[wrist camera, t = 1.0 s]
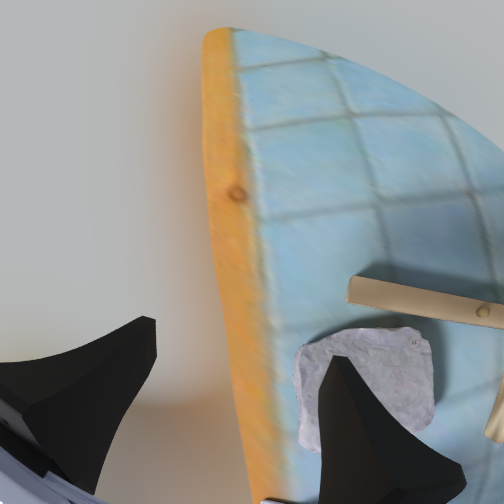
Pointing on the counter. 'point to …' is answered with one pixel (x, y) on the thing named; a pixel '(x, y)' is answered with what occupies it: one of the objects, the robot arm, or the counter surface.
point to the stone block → (369, 375)
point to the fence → (437, 307)
